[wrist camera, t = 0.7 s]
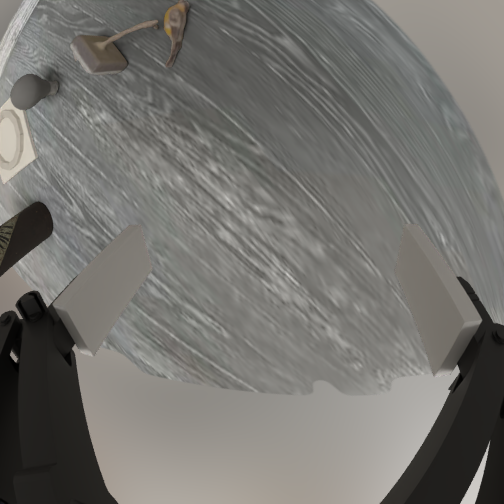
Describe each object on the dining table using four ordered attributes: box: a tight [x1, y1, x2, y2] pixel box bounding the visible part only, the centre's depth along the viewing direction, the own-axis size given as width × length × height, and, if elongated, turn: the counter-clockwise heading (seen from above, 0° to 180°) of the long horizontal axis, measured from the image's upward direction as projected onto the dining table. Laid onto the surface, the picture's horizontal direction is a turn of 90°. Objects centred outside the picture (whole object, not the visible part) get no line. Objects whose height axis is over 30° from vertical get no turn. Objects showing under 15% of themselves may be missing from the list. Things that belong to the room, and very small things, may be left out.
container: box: [0, 202, 53, 277], centre depth 38 cm, size 9×9×20 cm
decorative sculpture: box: [70, 0, 190, 75], centre depth 27 cm, size 16×10×7 cm, turn 101°
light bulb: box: [10, 74, 58, 110], centre depth 29 cm, size 6×6×10 cm
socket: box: [0, 98, 38, 184], centre depth 37 cm, size 16×16×2 cm
